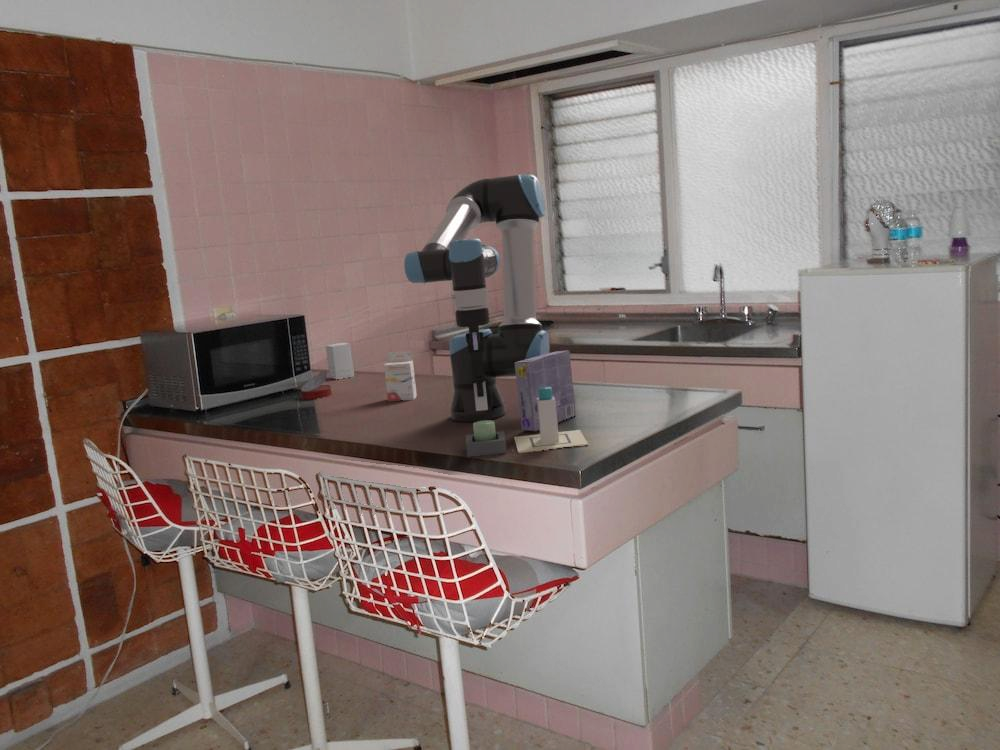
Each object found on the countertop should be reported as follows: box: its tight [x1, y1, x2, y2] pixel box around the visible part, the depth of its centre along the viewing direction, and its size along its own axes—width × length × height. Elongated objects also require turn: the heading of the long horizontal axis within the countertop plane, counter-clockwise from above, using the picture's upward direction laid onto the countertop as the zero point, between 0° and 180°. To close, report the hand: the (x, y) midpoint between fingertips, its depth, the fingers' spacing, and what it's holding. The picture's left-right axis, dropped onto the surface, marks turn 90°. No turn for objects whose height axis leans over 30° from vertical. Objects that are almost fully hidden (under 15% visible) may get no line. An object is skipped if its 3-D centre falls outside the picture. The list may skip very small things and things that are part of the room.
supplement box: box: [325, 342, 355, 381], centre depth 333 cm, size 7×7×13 cm
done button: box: [472, 419, 497, 442], centre depth 207 cm, size 5×5×4 cm
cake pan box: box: [515, 349, 577, 433], centre depth 226 cm, size 19×5×18 cm, turn 141°
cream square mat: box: [513, 429, 589, 454], centre depth 209 cm, size 14×16×1 cm
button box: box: [465, 430, 508, 458], centre depth 207 cm, size 9×9×3 cm
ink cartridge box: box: [383, 350, 417, 402], centre depth 279 cm, size 9×5×15 cm, turn 84°
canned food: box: [300, 370, 333, 400], centre depth 299 cm, size 11×10×10 cm
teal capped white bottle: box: [537, 387, 559, 443], centre depth 208 cm, size 4×4×12 cm
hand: (482, 409), depth 206 cm, fingers closed
